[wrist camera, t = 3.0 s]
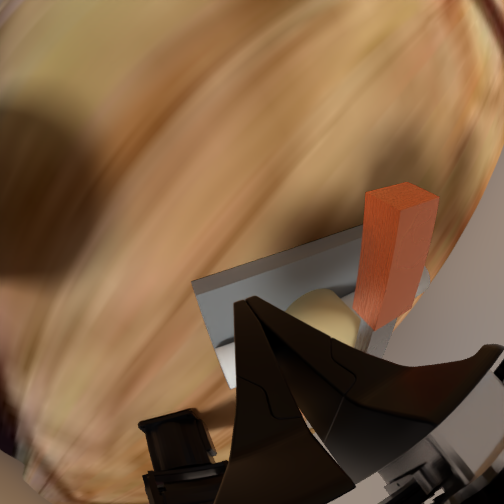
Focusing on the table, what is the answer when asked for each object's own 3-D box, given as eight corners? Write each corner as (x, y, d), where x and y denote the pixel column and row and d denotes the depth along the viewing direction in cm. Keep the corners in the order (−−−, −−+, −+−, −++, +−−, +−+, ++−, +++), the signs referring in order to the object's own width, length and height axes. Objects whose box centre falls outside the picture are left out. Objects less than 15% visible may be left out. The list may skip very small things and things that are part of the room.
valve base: (225, 377, 24) (254, 443, 18) (191, 281, 18) (225, 373, 12) (387, 302, 29) (430, 342, 23) (407, 209, 23) (469, 246, 17)
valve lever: (363, 370, 18) (377, 386, 17) (334, 386, 17) (348, 404, 16) (407, 181, 10) (439, 197, 9) (365, 192, 10) (400, 210, 8)
